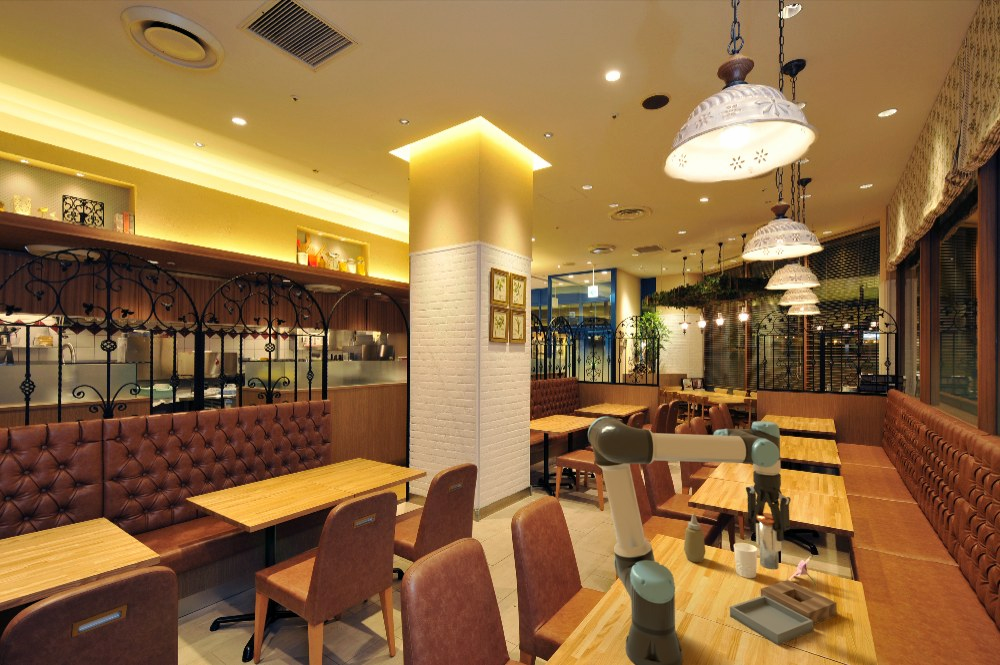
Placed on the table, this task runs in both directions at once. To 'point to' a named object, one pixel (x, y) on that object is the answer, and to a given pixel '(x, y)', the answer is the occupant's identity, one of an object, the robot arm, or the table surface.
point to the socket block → (801, 600)
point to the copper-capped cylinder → (767, 541)
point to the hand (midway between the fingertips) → (768, 547)
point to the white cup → (745, 559)
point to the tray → (771, 619)
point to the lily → (802, 569)
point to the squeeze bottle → (694, 541)
